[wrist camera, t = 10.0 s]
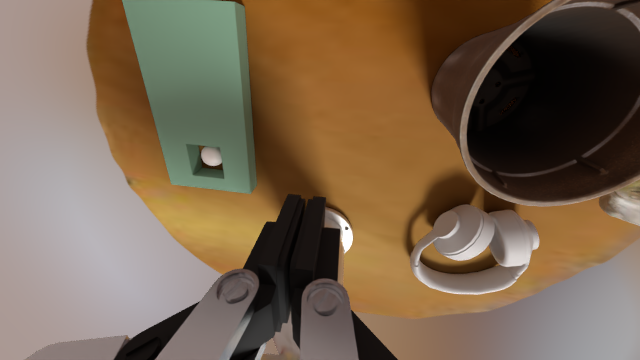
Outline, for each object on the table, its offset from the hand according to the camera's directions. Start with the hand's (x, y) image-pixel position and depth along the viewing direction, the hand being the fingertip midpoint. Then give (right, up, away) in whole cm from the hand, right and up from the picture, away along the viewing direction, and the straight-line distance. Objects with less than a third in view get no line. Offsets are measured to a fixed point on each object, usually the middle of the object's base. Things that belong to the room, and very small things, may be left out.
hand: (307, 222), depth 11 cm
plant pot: (+21, +14, +21) cm, 33 cm away
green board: (-17, +13, +26) cm, 33 cm away
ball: (-17, +6, +28) cm, 33 cm away
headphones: (+27, -9, +33) cm, 43 cm away
